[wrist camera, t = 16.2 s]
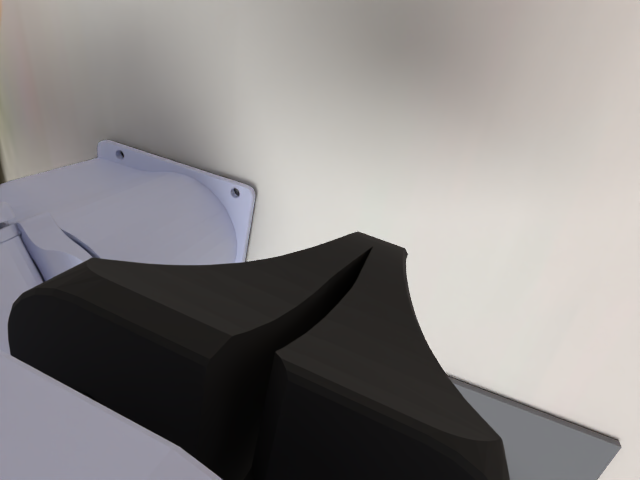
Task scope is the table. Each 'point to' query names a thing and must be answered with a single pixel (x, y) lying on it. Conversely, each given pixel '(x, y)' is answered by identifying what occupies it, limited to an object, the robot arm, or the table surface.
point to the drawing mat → (541, 439)
